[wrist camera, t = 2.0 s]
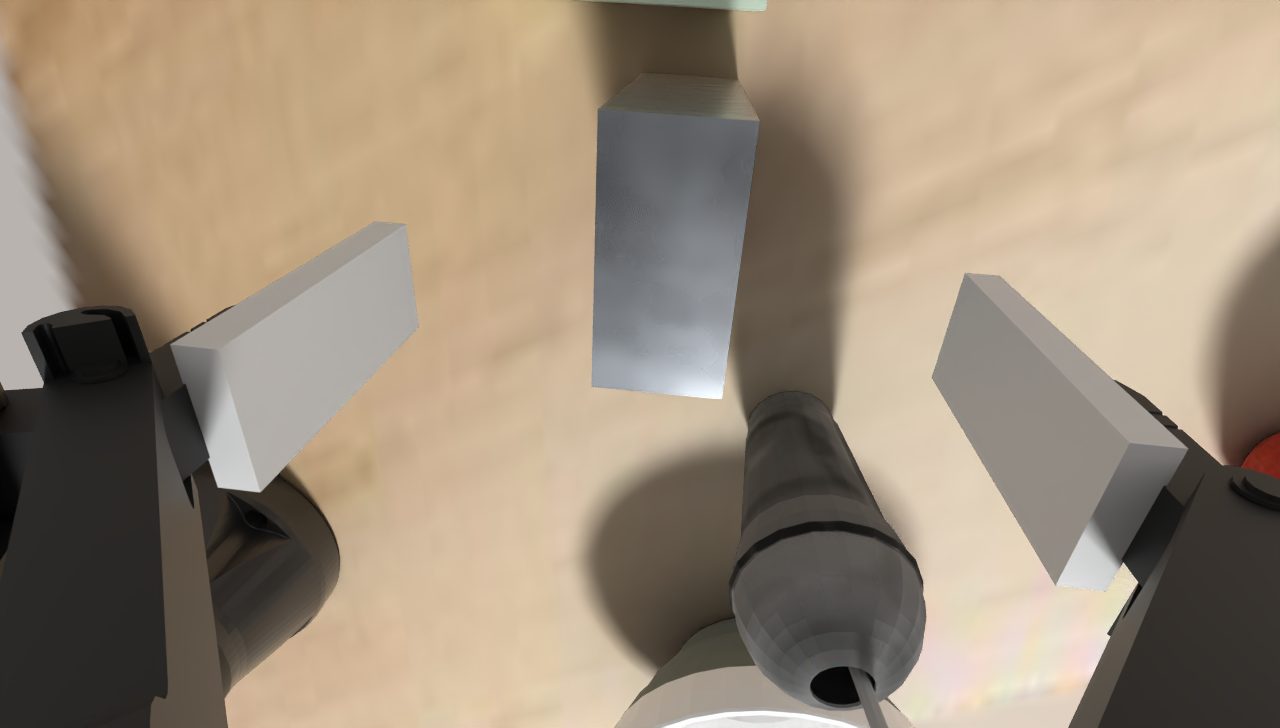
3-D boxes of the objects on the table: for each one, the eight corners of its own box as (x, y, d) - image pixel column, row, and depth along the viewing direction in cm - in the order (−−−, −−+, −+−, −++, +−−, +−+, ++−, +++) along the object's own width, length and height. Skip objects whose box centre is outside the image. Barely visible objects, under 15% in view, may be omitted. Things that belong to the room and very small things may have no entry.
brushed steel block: (633, 253, 31) (591, 387, 20) (643, 72, 27) (598, 109, 16) (716, 260, 31) (721, 399, 19) (737, 78, 27) (759, 121, 16)
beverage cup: (709, 382, 34) (712, 771, 16) (851, 355, 32) (1021, 753, 15) (736, 489, 37) (763, 912, 19) (866, 469, 36) (1021, 907, 18)
